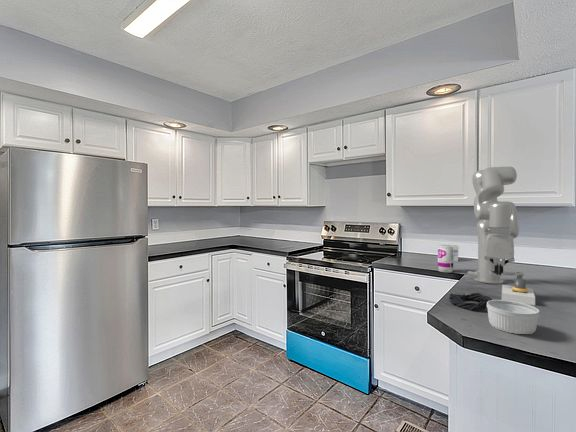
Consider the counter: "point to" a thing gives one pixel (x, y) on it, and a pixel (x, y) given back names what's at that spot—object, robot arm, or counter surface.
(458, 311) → the counter surface
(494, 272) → the clip
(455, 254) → the light bulb box
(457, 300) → the cable
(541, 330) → the counter surface
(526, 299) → the socket block
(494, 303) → the ramekin
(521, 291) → the plug
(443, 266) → the supplement can
